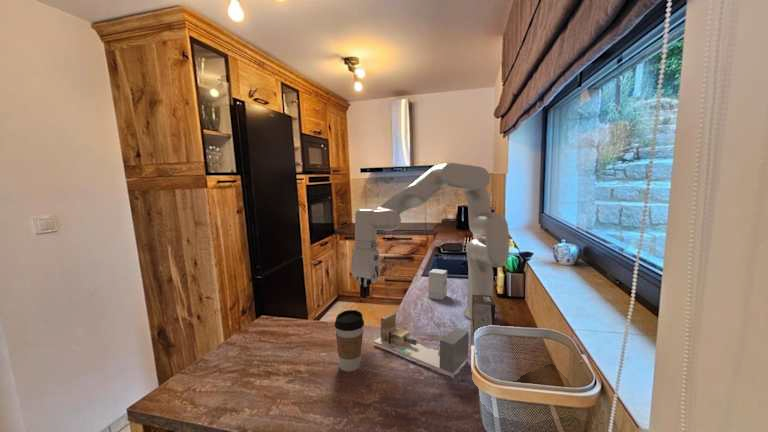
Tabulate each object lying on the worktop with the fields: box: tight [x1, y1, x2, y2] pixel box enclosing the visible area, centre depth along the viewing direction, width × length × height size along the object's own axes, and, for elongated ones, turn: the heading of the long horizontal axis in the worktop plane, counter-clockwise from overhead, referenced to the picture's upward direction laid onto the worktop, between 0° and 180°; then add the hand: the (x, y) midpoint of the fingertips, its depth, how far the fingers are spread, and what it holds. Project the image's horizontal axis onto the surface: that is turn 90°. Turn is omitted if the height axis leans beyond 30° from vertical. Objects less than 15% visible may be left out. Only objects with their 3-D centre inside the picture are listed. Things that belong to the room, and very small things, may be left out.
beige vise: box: [373, 327, 470, 376], centre depth 94 cm, size 28×10×10 cm, turn 51°
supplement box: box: [427, 268, 448, 301], centre depth 144 cm, size 7×7×13 cm
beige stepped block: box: [380, 312, 417, 346], centre depth 97 cm, size 12×8×7 cm, turn 51°
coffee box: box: [470, 295, 496, 343], centre depth 97 cm, size 9×6×16 cm
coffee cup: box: [334, 309, 365, 372], centre depth 87 cm, size 8×8×15 cm
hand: (364, 296), depth 106 cm, fingers closed
